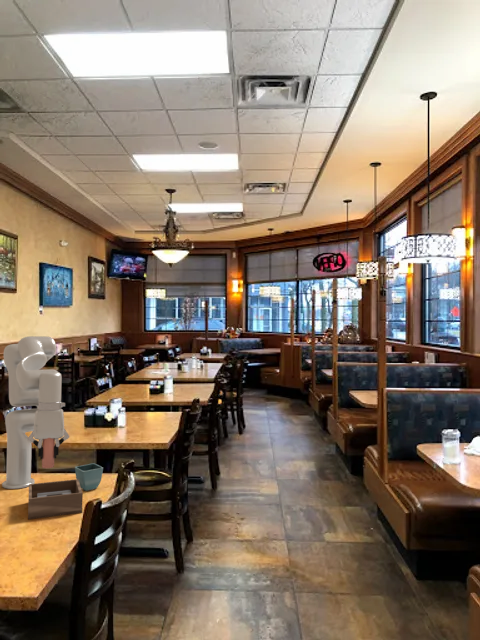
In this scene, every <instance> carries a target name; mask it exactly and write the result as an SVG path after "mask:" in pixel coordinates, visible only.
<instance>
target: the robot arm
mask: <svg viewBox="0 0 480 640" xmlns="http://www.w3.org/2000/svg"><path fill="white" fill-rule="evenodd" d="M56 351H57V345H56V341H55V339H54V338H53V337H52V336H39V335H38V336H33V335H32V336H25V337H23V338H22V337H21V339H19V341H18V343H13V344H12V343H11V344H8V345H6V346H5V347H4V349H3V361H4V364H5V368H6V370H7V373H8V400H9V404H10V405H11V407H12V406H13V407H18V408H19V407H21V408H22V407H31V406H32V407H33V406H35V407H36V408H28V409H16V410H12V411H10V412H8V413H7V414H6V416H5V417H4V418H5V419H4V420H5V431H6V475H5V477H6V478H5V479H6V480H4V481H3V482H1V486H2V488H4V489H10V490H14V489H15V490H16V489H17V490H18V489H24V488H27V487H28V488H29V484H35V482H36V481H35V479H34V478H32V477H31V476H32V444H33V445H34V446H36V447H37V448H38V453H37V457H40V460H41V461H42V459H43V439H47V438H52V439H55V447H54V459H57V456H59V452H60V451H59V449H60V446H61V445H62V444H63V443H64V442H65V441H67V440H68V439H69V438H70V435H69V433H68V432H67V431H66V429H65V415H64V410H63V409H62V408H63V407H66V402H62V379H63V378H62V373H60V372H59V371H58V370H57V369H42V368H43V367H45V366H46V363H47V362H48V361H49V360H50V359H52V358H53V357H54V356H55V354H56ZM30 432H31V433H30ZM26 433H30V434H29V436H28V435H27V434H26Z"/></svg>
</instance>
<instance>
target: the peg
mask: <svg viewBox="0 0 480 640" xmlns="http://www.w3.org/2000/svg"><path fill="white" fill-rule="evenodd" d="M55 444H56V443H55V439H52V438H47V439H43V441H42V447H43V459H41V468H42V469H52V468H54V467H55V458H54V447H55Z"/></svg>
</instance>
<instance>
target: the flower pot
mask: <svg viewBox="0 0 480 640" xmlns="http://www.w3.org/2000/svg"><path fill="white" fill-rule="evenodd" d="M74 470H75V471H74V472H75V479H78V480H79V483H80V486H81V490H82V491H85V492H87V491H91V490H95V489H98V487H99V486H100V484H101V481H102V478H103V471H104V467H102V466H101V465H99V464H96V463H89V464H83V465H79V466H74Z"/></svg>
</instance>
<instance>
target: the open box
mask: <svg viewBox="0 0 480 640" xmlns="http://www.w3.org/2000/svg"><path fill="white" fill-rule="evenodd" d="M83 494H84V493H83V489H81V486H80V483H79V480H78V479H76V478H75V479H67V480H65V479H64V480H58V481H56V480H55V481H48V482H45V481H44V482H37V483H34V484H29V486H28V502H27V503H28V506H27V507H28V510H27V511H28V512H27V514H28V515H27V516H28V517H27V518H28V519H27V520H34V519H42V518H52V517H58V516H65V515H66V516H67V515H72V514H73V515H74V514H81V513H83V500H84V499H83Z"/></svg>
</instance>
